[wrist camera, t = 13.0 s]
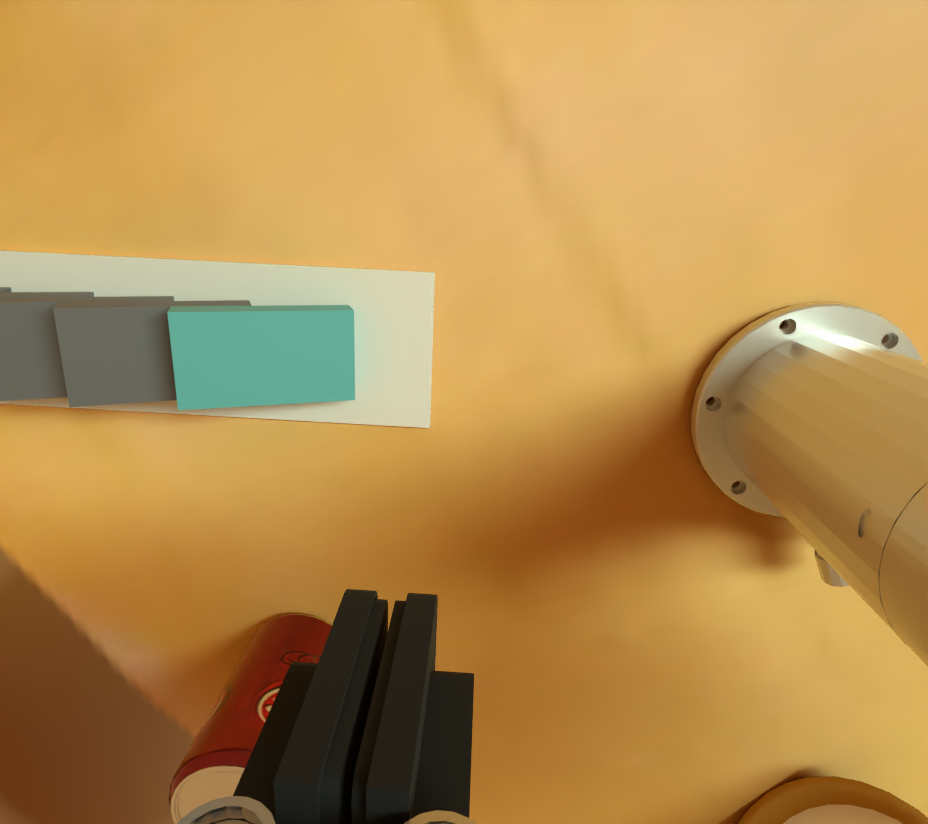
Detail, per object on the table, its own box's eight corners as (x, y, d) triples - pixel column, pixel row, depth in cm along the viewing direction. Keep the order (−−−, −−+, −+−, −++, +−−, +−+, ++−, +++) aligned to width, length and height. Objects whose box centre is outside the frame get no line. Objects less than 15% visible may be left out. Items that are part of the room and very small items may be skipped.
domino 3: (353, 310, 32) (167, 312, 30) (355, 400, 34) (178, 410, 31) (348, 304, 34) (171, 306, 31) (349, 390, 36) (181, 399, 33)
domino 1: (172, 301, 33) (-34, 303, 30) (181, 390, 34) (-13, 401, 31) (173, 296, 34) (-22, 297, 31) (182, 381, 36) (-3, 391, 33)
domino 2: (251, 305, 33) (52, 307, 29) (257, 394, 34) (69, 407, 31) (248, 300, 34) (60, 302, 31) (254, 386, 36) (75, 397, 32)
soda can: (335, 598, 41) (276, 750, 29) (369, 685, 43) (326, 857, 31) (235, 620, 42) (139, 775, 30) (273, 703, 44) (196, 878, 32)
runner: (434, 272, 34) (434, 272, 33) (430, 426, 36) (429, 428, 36) (-99, 245, 34) (-104, 245, 34) (-63, 398, 37) (-67, 400, 37)
